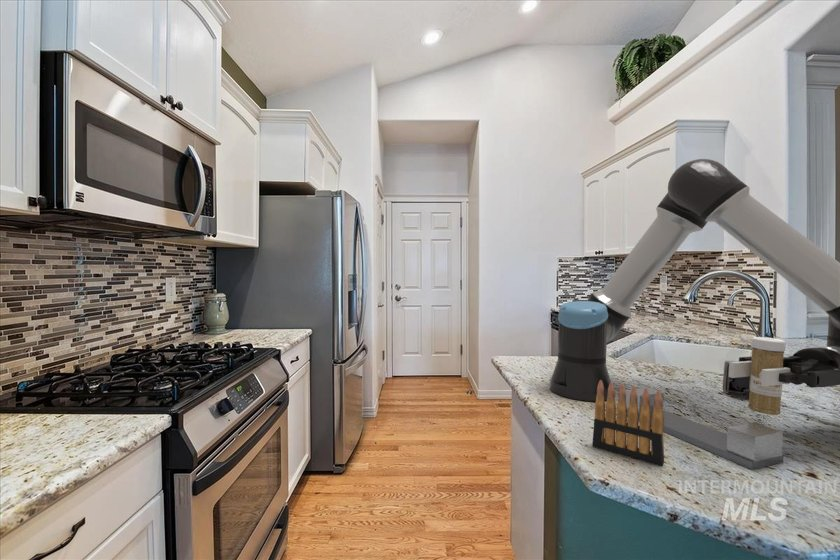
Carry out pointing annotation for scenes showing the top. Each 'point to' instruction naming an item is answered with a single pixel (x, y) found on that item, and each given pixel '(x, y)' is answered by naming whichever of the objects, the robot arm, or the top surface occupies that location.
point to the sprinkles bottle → (763, 357)
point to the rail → (723, 437)
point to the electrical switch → (735, 383)
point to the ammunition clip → (629, 425)
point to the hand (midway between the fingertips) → (747, 373)
